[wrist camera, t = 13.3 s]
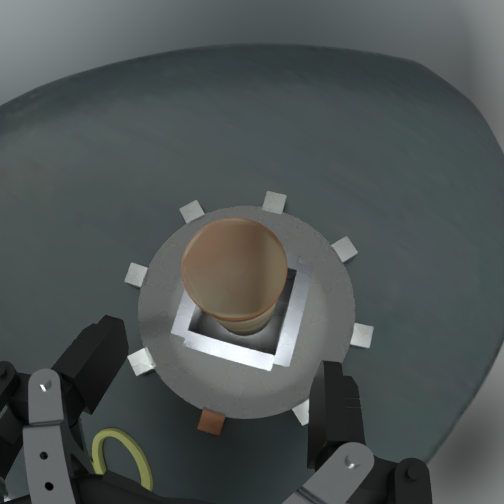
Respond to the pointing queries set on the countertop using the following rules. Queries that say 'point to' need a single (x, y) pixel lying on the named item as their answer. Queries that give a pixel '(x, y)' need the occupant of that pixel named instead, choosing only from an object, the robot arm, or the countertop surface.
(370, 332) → the sprocket plate
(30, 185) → the countertop surface
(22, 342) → the countertop surface
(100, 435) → the key
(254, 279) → the pin
